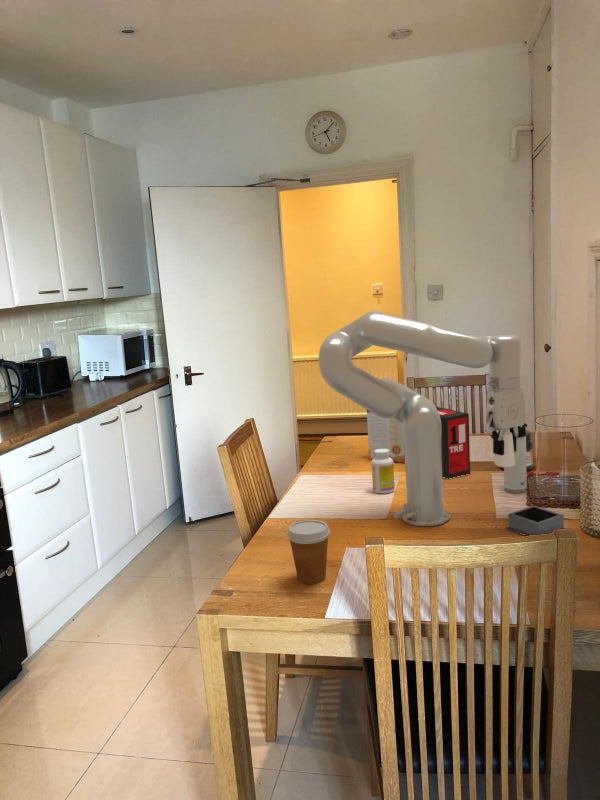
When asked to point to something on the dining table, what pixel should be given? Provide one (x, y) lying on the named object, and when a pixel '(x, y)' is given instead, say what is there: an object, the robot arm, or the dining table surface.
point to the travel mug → (517, 466)
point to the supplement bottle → (382, 472)
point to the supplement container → (528, 451)
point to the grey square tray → (535, 521)
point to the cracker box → (386, 436)
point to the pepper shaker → (506, 451)
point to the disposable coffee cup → (309, 549)
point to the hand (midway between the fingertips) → (504, 451)
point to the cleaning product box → (454, 443)
